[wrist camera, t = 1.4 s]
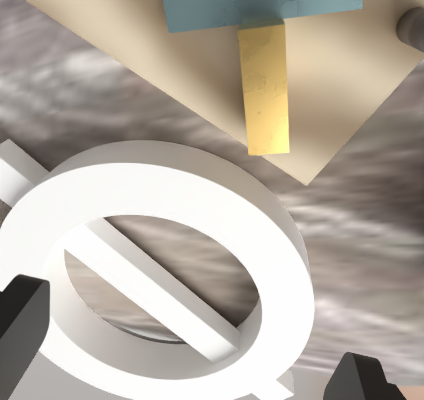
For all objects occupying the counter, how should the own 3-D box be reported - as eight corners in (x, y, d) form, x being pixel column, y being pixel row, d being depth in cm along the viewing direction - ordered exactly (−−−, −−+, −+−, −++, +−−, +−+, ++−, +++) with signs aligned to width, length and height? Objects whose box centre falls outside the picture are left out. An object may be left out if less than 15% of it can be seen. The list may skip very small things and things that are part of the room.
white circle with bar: (290, 378, 44) (293, 420, 40) (54, 352, 46) (34, 389, 42) (331, 147, 30) (342, 175, 26) (-12, 129, 32) (-52, 152, 28)
